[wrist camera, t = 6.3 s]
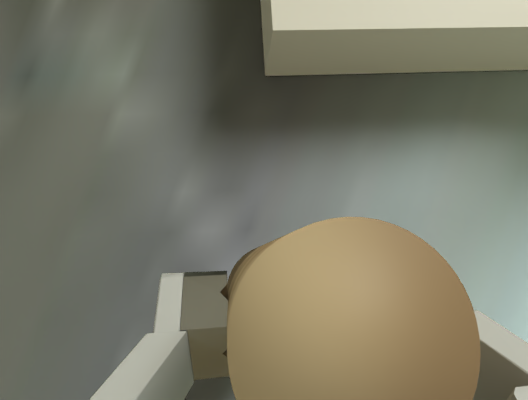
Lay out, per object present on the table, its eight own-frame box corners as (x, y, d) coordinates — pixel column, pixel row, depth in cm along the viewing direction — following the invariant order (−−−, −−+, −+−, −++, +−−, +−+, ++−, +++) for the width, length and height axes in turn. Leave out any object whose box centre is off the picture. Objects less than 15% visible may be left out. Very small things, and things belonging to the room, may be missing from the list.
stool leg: (228, 340, 16) (232, 500, 5) (225, 247, 17) (221, 222, 6) (320, 334, 17) (495, 472, 6) (313, 243, 17) (463, 212, 6)
